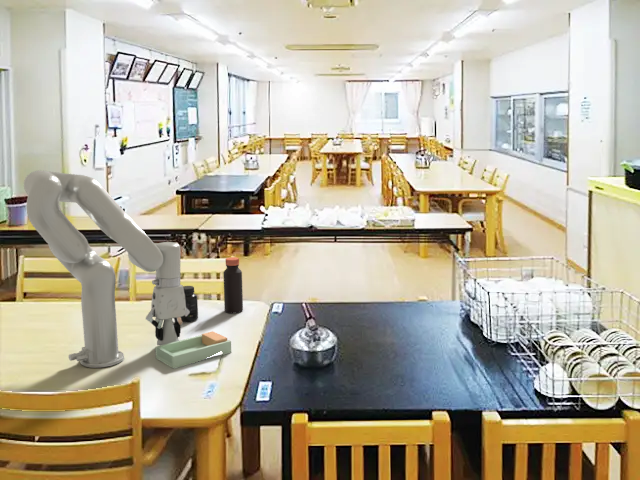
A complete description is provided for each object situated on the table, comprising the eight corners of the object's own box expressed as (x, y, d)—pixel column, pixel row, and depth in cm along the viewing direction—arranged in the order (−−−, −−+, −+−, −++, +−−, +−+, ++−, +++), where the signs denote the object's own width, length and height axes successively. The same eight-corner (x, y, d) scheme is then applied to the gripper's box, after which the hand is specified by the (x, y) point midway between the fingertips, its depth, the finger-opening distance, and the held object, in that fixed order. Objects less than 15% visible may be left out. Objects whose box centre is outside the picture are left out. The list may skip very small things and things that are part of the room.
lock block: (216, 350, 210) (216, 340, 210) (202, 343, 216) (201, 334, 216) (227, 347, 213) (227, 337, 212) (213, 340, 219) (212, 331, 218)
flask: (182, 340, 220) (182, 310, 219) (175, 347, 213) (175, 316, 211) (160, 339, 221) (160, 309, 219) (153, 346, 214) (153, 315, 212)
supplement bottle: (176, 318, 247) (175, 286, 244) (195, 315, 250) (194, 283, 247) (181, 323, 241) (180, 290, 238) (200, 321, 243) (199, 288, 241)
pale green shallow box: (173, 368, 200) (173, 356, 199) (155, 358, 208) (155, 346, 207) (231, 352, 212) (231, 341, 212) (212, 343, 221) (211, 332, 220)
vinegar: (246, 310, 256) (245, 257, 252) (235, 314, 251) (233, 261, 247) (232, 307, 260) (230, 255, 256) (220, 311, 254) (219, 259, 250)
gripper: (148, 287, 205) (148, 345, 208) (198, 281, 216) (197, 336, 219) (137, 282, 211) (137, 339, 214) (186, 276, 222) (185, 330, 225)
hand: (168, 337), depth 217 cm, fingers closed on flask, 5 cm apart
